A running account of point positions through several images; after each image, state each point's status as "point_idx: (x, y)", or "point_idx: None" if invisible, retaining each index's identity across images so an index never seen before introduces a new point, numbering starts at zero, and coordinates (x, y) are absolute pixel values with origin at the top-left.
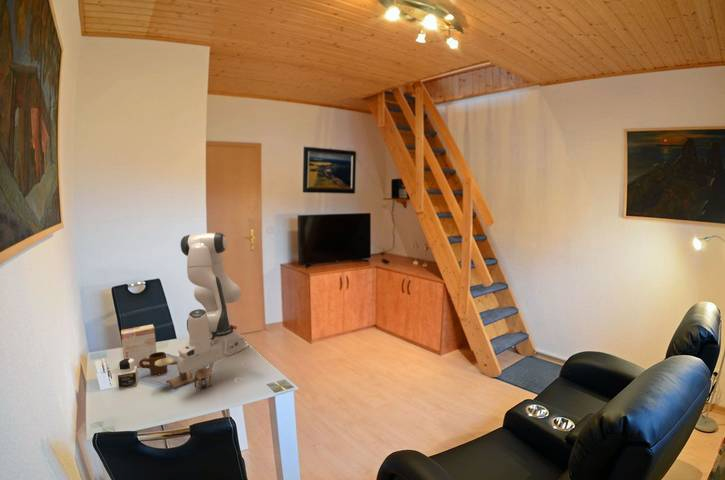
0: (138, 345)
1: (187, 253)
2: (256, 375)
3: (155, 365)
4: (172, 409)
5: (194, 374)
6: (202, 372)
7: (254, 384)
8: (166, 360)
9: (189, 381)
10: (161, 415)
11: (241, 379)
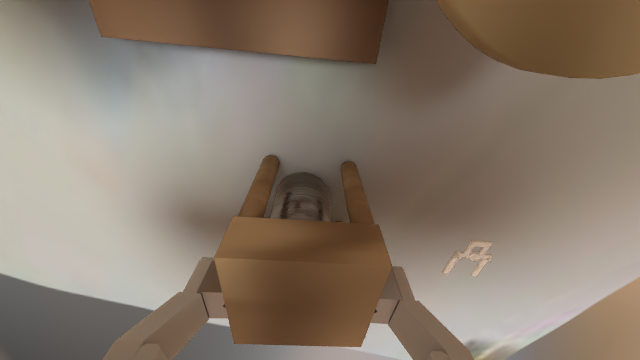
0: None
1: None
2: (540, 283)
3: None
4: (91, 260)
5: (200, 322)
6: (286, 329)
7: (452, 321)
8: None
9: (264, 51)
10: (36, 266)
11: (476, 270)
